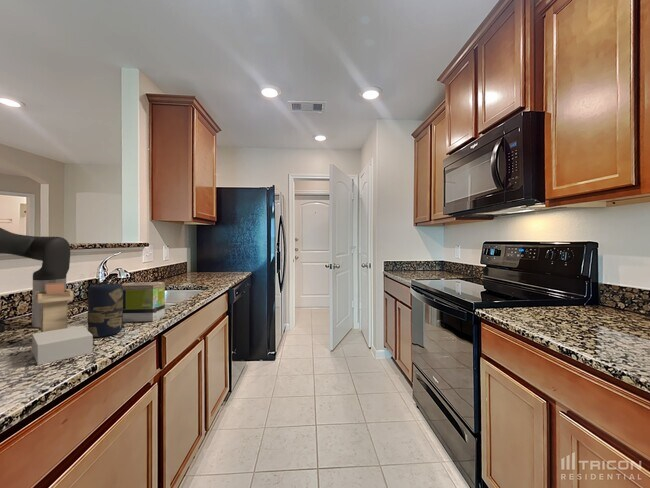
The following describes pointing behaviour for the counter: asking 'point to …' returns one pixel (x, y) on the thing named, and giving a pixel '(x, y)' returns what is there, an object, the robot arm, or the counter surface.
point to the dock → (61, 344)
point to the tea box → (143, 301)
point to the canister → (105, 309)
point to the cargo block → (54, 288)
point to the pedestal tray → (53, 309)
